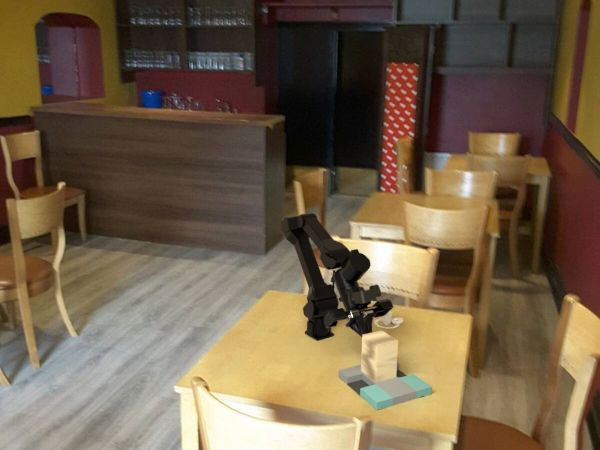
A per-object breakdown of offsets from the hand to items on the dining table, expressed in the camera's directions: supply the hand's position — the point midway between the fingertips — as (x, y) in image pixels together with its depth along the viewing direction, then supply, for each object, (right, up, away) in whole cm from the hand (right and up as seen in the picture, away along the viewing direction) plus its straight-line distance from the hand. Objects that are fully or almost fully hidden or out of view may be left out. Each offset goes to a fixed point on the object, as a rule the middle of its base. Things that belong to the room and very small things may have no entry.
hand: (370, 343), depth 160 cm
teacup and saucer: (+10, -2, +31) cm, 33 cm away
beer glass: (-7, +2, +43) cm, 44 cm away
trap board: (+3, -10, -3) cm, 11 cm away
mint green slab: (+5, -11, -8) cm, 15 cm away
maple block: (+2, -8, -2) cm, 8 cm away
